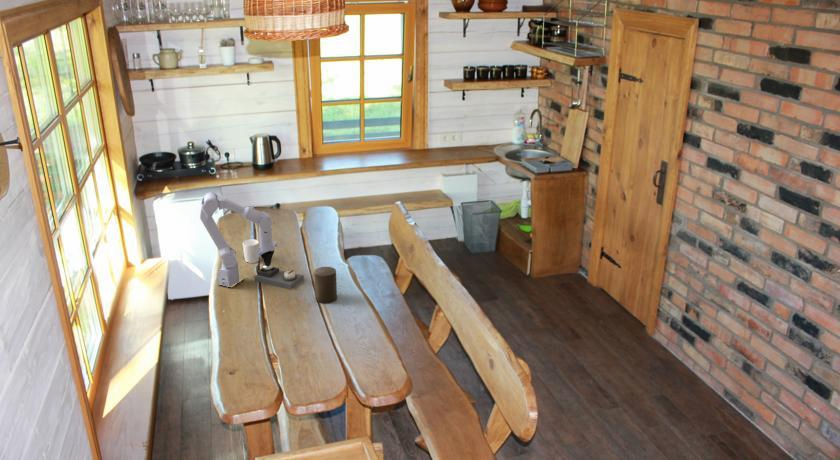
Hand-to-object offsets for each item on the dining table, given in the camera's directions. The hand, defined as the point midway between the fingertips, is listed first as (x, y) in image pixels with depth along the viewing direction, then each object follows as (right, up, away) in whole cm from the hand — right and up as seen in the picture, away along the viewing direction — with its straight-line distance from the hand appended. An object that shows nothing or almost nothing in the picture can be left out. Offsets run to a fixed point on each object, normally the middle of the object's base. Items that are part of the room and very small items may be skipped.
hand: (267, 265), depth 333 cm
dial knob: (+11, -5, -3) cm, 13 cm away
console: (+5, -7, 0) cm, 9 cm away
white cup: (-12, +1, +21) cm, 24 cm away
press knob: (0, -2, +1) cm, 2 cm away
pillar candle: (+30, -14, -15) cm, 36 cm away
